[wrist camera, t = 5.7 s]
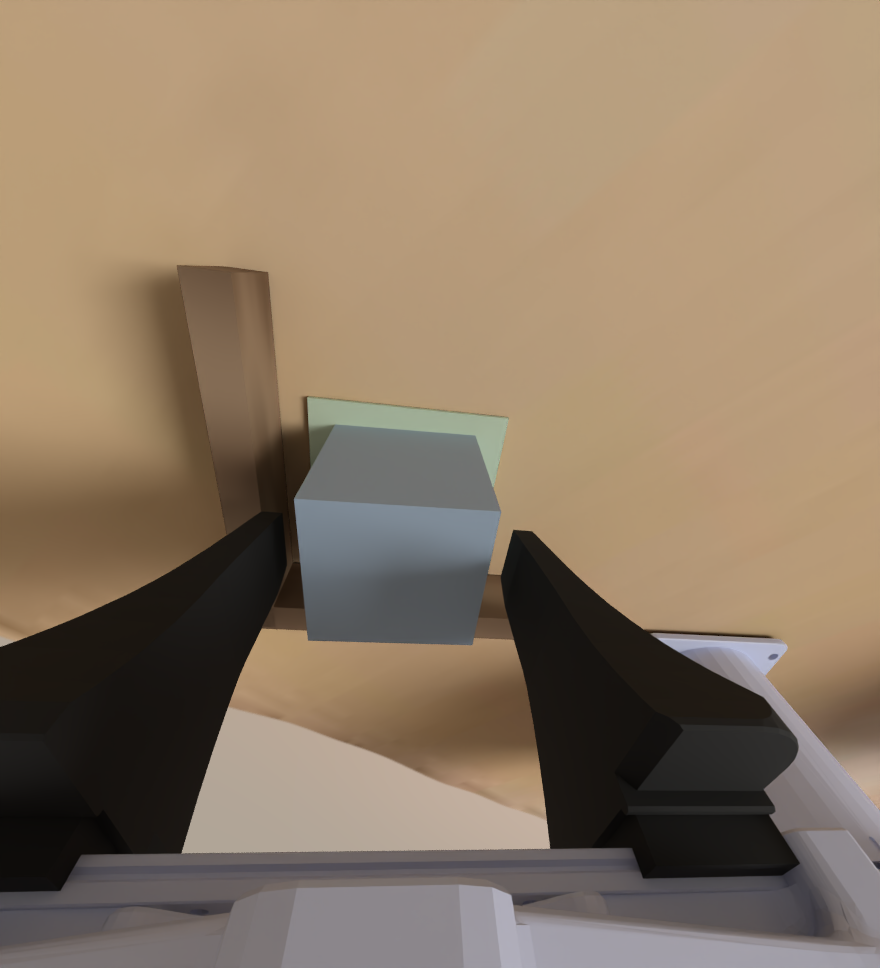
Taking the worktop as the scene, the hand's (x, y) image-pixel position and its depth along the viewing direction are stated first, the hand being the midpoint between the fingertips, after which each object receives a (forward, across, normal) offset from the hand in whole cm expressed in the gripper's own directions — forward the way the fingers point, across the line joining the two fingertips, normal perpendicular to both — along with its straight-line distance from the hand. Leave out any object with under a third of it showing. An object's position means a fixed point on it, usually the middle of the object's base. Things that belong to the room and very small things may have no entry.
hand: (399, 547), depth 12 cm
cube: (+3, 0, 0) cm, 3 cm away
